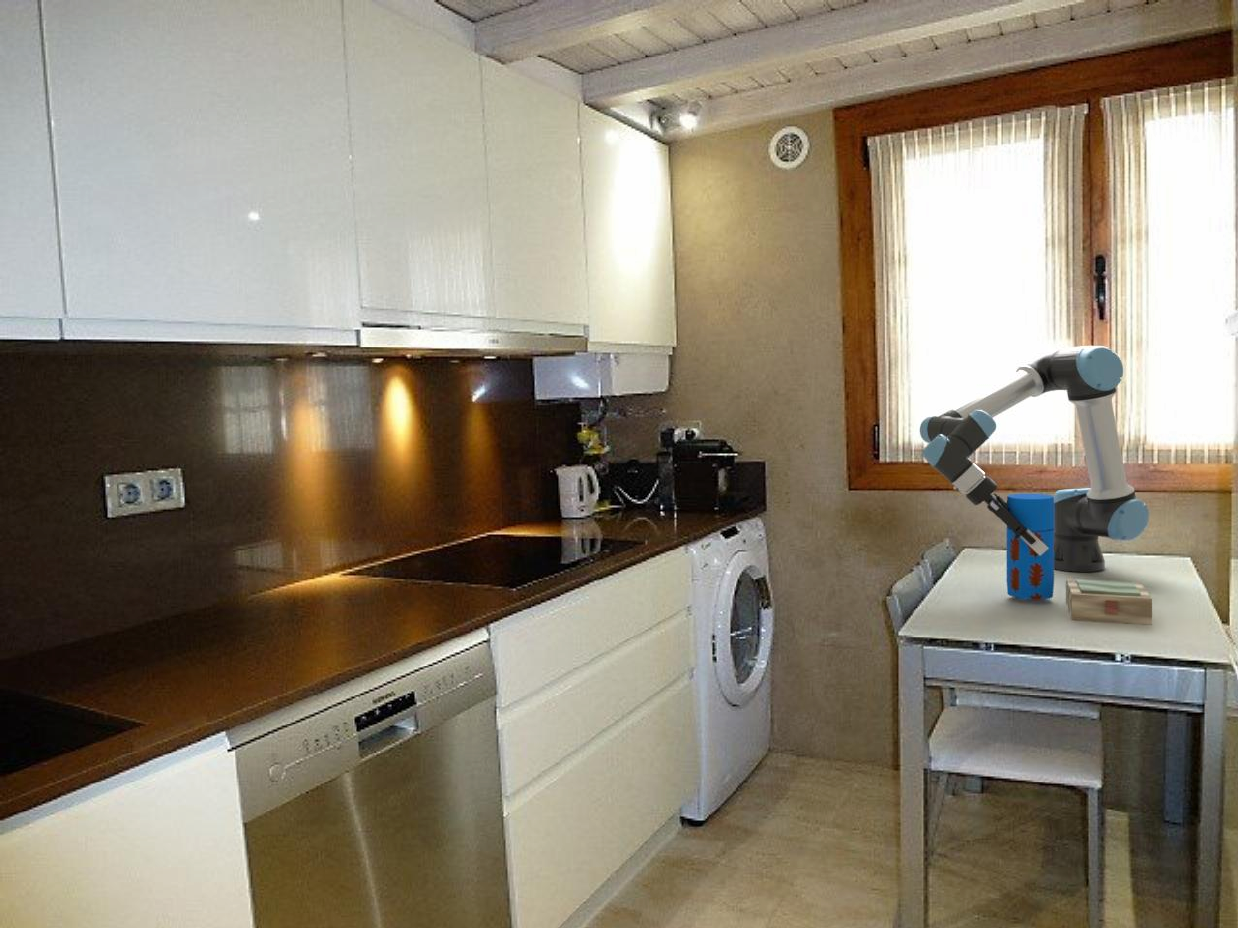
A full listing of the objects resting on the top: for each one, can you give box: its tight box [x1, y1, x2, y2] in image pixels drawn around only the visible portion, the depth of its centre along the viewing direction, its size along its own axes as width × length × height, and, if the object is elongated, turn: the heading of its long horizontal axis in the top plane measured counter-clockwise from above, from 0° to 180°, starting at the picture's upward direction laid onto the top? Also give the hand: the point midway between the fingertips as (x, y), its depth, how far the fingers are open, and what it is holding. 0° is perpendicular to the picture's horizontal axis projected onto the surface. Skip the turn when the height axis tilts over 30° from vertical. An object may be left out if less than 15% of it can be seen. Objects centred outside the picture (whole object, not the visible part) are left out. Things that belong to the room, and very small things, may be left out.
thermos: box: [1006, 493, 1055, 601], centre depth 222 cm, size 11×11×25 cm
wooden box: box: [1065, 578, 1153, 626], centre depth 208 cm, size 17×16×7 cm
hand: (1042, 547), depth 221 cm, fingers closed on thermos, 11 cm apart
